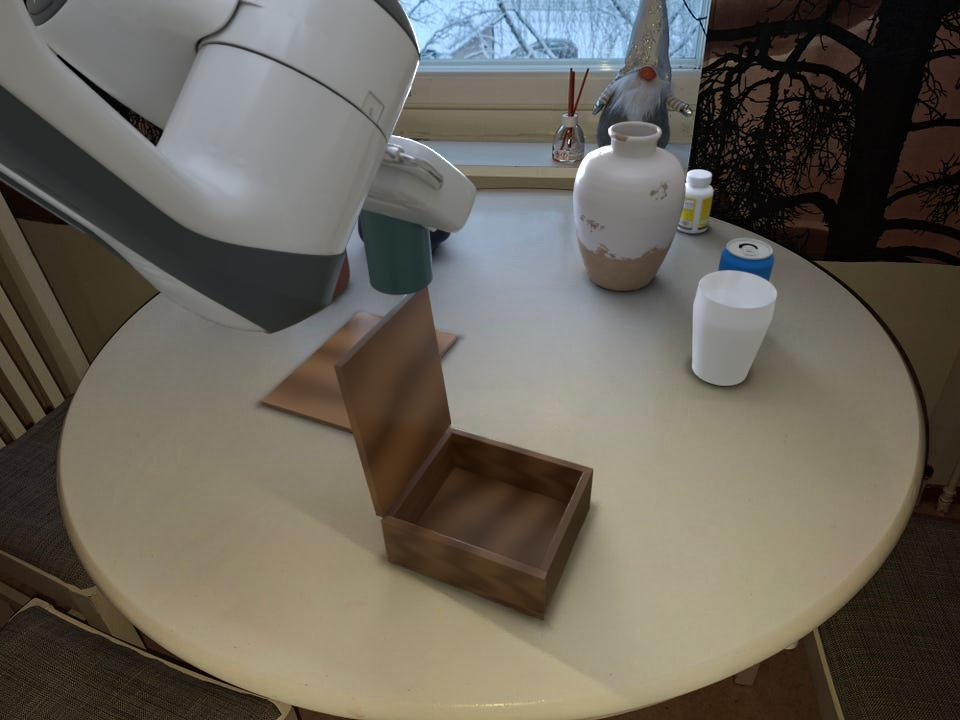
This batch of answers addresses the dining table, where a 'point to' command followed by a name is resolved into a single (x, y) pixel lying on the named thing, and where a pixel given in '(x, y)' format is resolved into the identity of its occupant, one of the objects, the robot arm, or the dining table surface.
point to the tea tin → (396, 254)
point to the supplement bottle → (696, 202)
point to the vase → (627, 206)
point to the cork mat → (329, 376)
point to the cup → (729, 324)
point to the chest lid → (395, 397)
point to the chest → (490, 519)
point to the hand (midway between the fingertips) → (398, 212)
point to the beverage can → (748, 257)
